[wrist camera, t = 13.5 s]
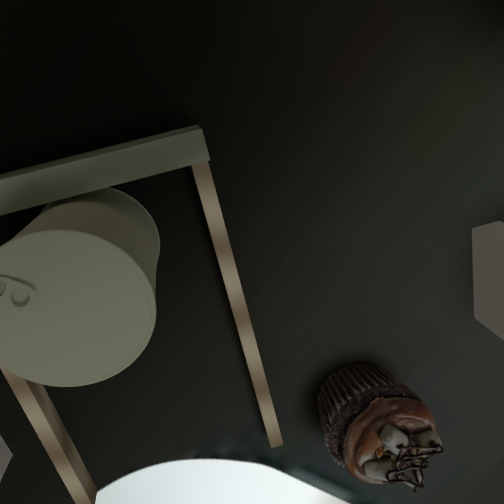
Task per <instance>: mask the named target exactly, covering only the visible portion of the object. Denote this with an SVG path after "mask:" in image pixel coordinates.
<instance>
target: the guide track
mask: <svg viewBox="0 0 504 504" xmlns="http://www.w3.org/2000/svg"><path fill="white" fill-rule="evenodd" d="M208 160H210V157H209V154H208V150H207V146H206V142H205V139H204V135H203V131H202V128H201V127H199V126H198V125H192V126H188V127H184V128H180V129H176V130H172V131H168V132H164V133H161V134H157V135H153V136H149V137H145V138H141V139H137V140H133V141H129V142H125V143H121V144H117V145H113V146H110V147H106V148H102V149H98V150H94V151H90V152H86V153H82V154H78V155H74V156H70V157H66V158H62V159H59V160H55V161H51V162H47V163H43V164H39V165H35V166H31V167H27V168H23V169H19V170H15V171H12V172H8V173H4V174H0V215H4V214H8V213H12V212H15V211H19V210H23V209H27V208H30V207H34V206H38V205H42V204H46V203H49V202H53V201H57V200H61V199H64V198H68V197H72V196H76V195H80V194H83V193H87V192H91V191H95V190H99V189H102V188H106V187H110V186H114V185H117V184H121V183H125V182H129V181H133V180H136V179H140V178H144V177H148V176H151V175H155V174H159V173H163V172H167V171H170V170H174V169H178V168H182V167H185V166H189V165H191V168H192V171H193V175H194V178H195V182H196V185H197V189H198V192H199V196H200V199H201V203H202V206H203V210H204V213H205V217H206V220H207V224H208V228H209V231H210V235H211V238H212V242H213V245H214V249H215V252H216V256H217V259H218V263H219V266H220V270H221V273H222V277H223V280H224V284H225V288H226V291H227V295H228V298H229V302H230V305H231V309H232V312H233V316H234V319H235V323H236V326H237V330H238V333H239V337H240V341H241V344H242V348H243V351H244V355H245V358H246V362H247V365H248V369H249V372H250V376H251V379H252V383H253V386H254V390H255V393H256V397H257V401H258V404H259V408H260V411H261V415H262V418H263V422H264V425H265V429H266V432H267V436H268V439H269V442H270V445H271V448H274V447H276V446H279V445H282V444H283V441H282V437H281V434H280V430H279V426H278V422H277V419H276V415H275V411H274V407H273V404H272V400H271V396H270V392H269V389H268V385H267V381H266V377H265V374H264V370H263V366H262V362H261V359H260V355H259V351H258V347H257V344H256V340H255V336H254V332H253V329H252V325H251V321H250V318H249V314H248V310H247V306H246V303H245V299H244V295H243V291H242V288H241V284H240V280H239V276H238V273H237V269H236V265H235V261H234V258H233V254H232V250H231V246H230V243H229V239H228V235H227V231H226V228H225V224H224V220H223V216H222V213H221V209H220V205H219V201H218V198H217V194H216V190H215V186H214V183H213V179H212V175H211V171H210V168H209V164H208ZM0 368H1V370H2V372H3V374H4V376H5V377H6V379H7V381H8V383H9V385H10V386H11V388H12V390H13V392H14V394H15V395H16V397H17V399H18V401H19V403H20V404H21V406H22V408H23V410H24V411H25V413H26V415H27V417H28V419H29V420H30V422H31V424H32V426H33V428H34V429H35V431H36V433H37V435H38V437H39V438H40V440H41V442H42V444H43V446H44V447H45V449H46V451H47V453H48V455H49V456H50V458H51V460H52V462H53V464H54V465H55V467H56V469H57V471H58V473H59V474H60V476H61V478H62V480H63V482H64V483H65V485H66V487H67V489H68V491H69V492H70V494H71V496H72V498H73V500H74V501H75V503H76V504H95V500H96V494H97V488H96V486H95V484H94V482H93V480H92V479H91V477H90V475H89V473H88V471H87V469H86V467H85V465H84V463H83V461H82V459H81V457H80V455H79V453H78V452H77V450H76V448H75V446H74V444H73V442H72V440H71V438H70V436H69V434H68V432H67V430H66V428H65V427H64V425H63V423H62V421H61V419H60V417H59V415H58V413H57V411H56V409H55V407H54V405H53V403H52V401H51V400H50V398H49V396H48V394H47V392H46V390H45V388H44V386H43V384H39V383H35V382H32V381H29V380H26V379H24V378H21V377H19V376H17V375H15V374H13V373H11V372H10V371H8V370H6V369H5V368H4V367H2V366H1V365H0Z"/></svg>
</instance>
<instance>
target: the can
mask: <svg viewBox="0 0 504 504" xmlns="http://www.w3.org/2000/svg"><path fill="white" fill-rule="evenodd" d="M159 253H160V239H159V233H158V230H157V227H156V224H155V222H154V220H153V218H152V217H151V215H150V214H149V212H148V211H147V210H146V209H145V208H144V206H143V205H142V204H141V203H139V202H138V201H137V200H136V199H134V198H133V197H131V196H130V195H128V194H126V193H124V192H122V191H120V190H117V189H114V188H110V187H106V188H102V189H99V190H95V191H91V192H87V193H83V194H80V195H76V196H72V197H68V198H64V199H61V200H57V201H53V202H49V203H48V204H47V205H46V206H45V207H44V209H43V210H42V211H41V213H40V215H39V216H37V217H36V218H35V219H34V220H33V221H32V222H31V223H30V224H28V225H27V226H26V227H25V228H24V229H23V230H22V231H20V232H19V233H18V234H17V235H16V236H15V237H14V238H12V239H11V240H10V241H8V242H6V243H5V244H3V245H2V246H0V365H1V366H2V367H4V368H5V369H6V370H8V371H10V372H11V373H13V374H15V375H17V376H19V377H21V378H24V379H26V380H29V381H32V382H35V383H39V384H43V385H48V386H58V387H75V386H83V385H89V384H93V383H96V382H100V381H102V380H105V379H108V378H110V377H112V376H114V375H116V374H118V373H119V372H121V371H122V370H124V369H125V368H126V367H128V366H129V365H130V364H131V363H133V362H134V361H135V360H136V359H137V357H138V356H139V355H140V354H141V353H142V351H143V350H144V348H145V347H146V346H147V344H148V342H149V340H150V338H151V335H152V333H153V329H154V325H155V320H156V301H155V284H156V266H157V261H158V258H159Z"/></svg>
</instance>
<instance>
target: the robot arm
mask: <svg viewBox="0 0 504 504" xmlns="http://www.w3.org/2000/svg"><path fill="white" fill-rule="evenodd" d="M472 253H473V292H474V318H475V319H477V320H478V321H479V322H480V323H482V324H483V325H484V326H486V327H487V328H488V329H490V330H491V331H492V332H493V333H495V334H496V335H497V336H499V337H500V338H501V339H503V340H504V222H501V221H496V222H493V223H489V224H485V225H482V226H478V227H475V228H472ZM11 457H12V453H11V452H10V450H9V448H8V447H7V445H6V443H5V442H4V440H3V439H2V437H1V435H0V481H1V479H2V476H3V474H4V472H5V470H6V468H7V466H8V463H9V461H10V459H11Z"/></svg>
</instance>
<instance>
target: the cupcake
mask: <svg viewBox="0 0 504 504" xmlns="http://www.w3.org/2000/svg"><path fill="white" fill-rule="evenodd" d="M317 405H318V412H319V415H320V420H321V424H322V428H323V432H324V437H325V443H326V446H327V448H328V451H329V452H330V455H331V456H333V459H334V461H337V462H338V465H340V464H342V465H343V467H346V469H347V470H348V472H349V473H350V474H351V475H352V476H354V477H355V478H357V479H360V480H362V481H365V482H368V483H375V484H381V483H389V484H395V483H400V482H404V483H406V484H407V485H409V486H411V487H412V488H413V491H414V492H415V493H416V492H417V490H419V489H421V488H424V486H423V482H424V476H423V472H422V470H426V469H427V468H428V467H429V463H428V462H427V460H429V459H430V458H432V457H433V456H434V455H437V454H440V453H442V452H443V446H442V443H441V440H440V438H439V436H438V434H437V433H436V432H435V431H436V424H435V421H434V417H433V414H432V413H431V411H430V410H429V409H428V407H426V406H425V405H424V403H423V402H422V400H421V399H420V397H419V396H418V395H417V394H416V393H415V392H413V391H412V390H411V389H410V388H409V387H407V386H406V385H404V384H403V383H401V382H400V381H398V380H397V379H396V378H394V377H393V376H392V375H390V374H389V373H388V372H386V371H385V370H383V369H382V368H380V367H379V366H377V365H375V364H367V363H364V362H358V363H352V364H349V365H347V366H343V367H341V368H339V369H338V370H337V371H336V372H334V373H332V374H331V375H330V376H329V377H328V378H327V379H326V381H325V382H324V384H323V385H322V386H321V389H320V392H319V394H318V397H317ZM424 463H425V465H423V464H424ZM399 478H401V479H399Z"/></svg>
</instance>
